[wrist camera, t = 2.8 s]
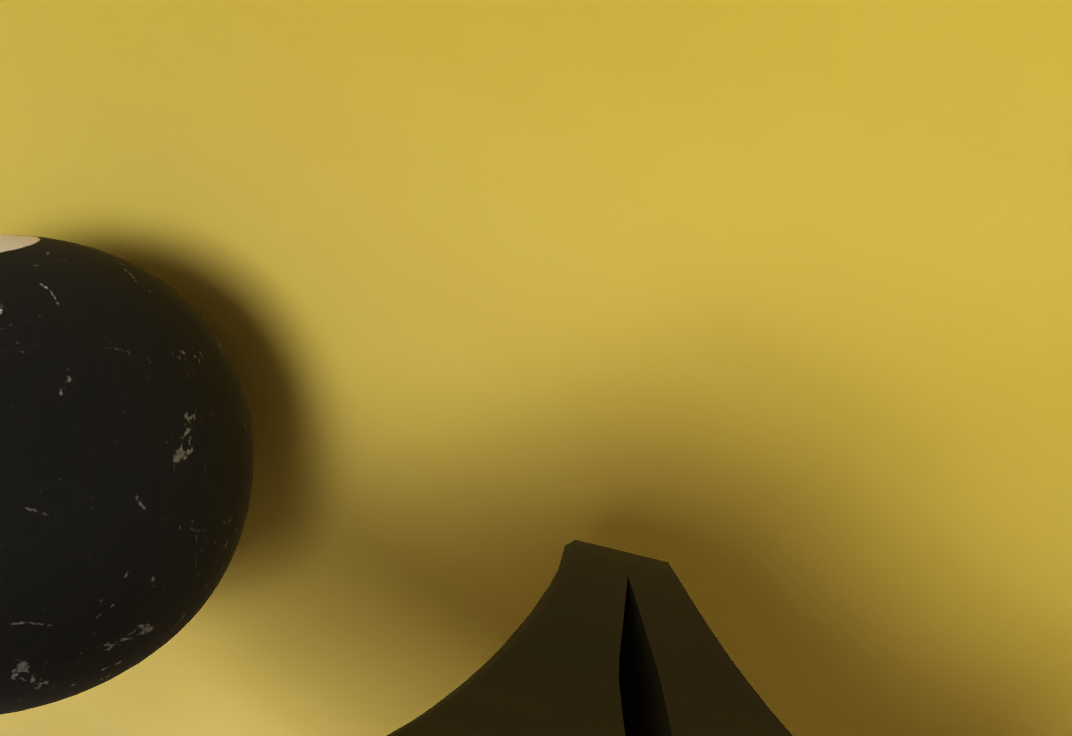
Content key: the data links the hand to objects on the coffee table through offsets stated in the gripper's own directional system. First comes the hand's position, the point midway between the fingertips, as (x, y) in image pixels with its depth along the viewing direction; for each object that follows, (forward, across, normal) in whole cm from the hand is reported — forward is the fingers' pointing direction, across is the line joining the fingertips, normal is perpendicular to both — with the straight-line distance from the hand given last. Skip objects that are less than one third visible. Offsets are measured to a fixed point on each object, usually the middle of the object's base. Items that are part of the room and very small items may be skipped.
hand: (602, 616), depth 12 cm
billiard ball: (+3, +8, 0) cm, 9 cm away
